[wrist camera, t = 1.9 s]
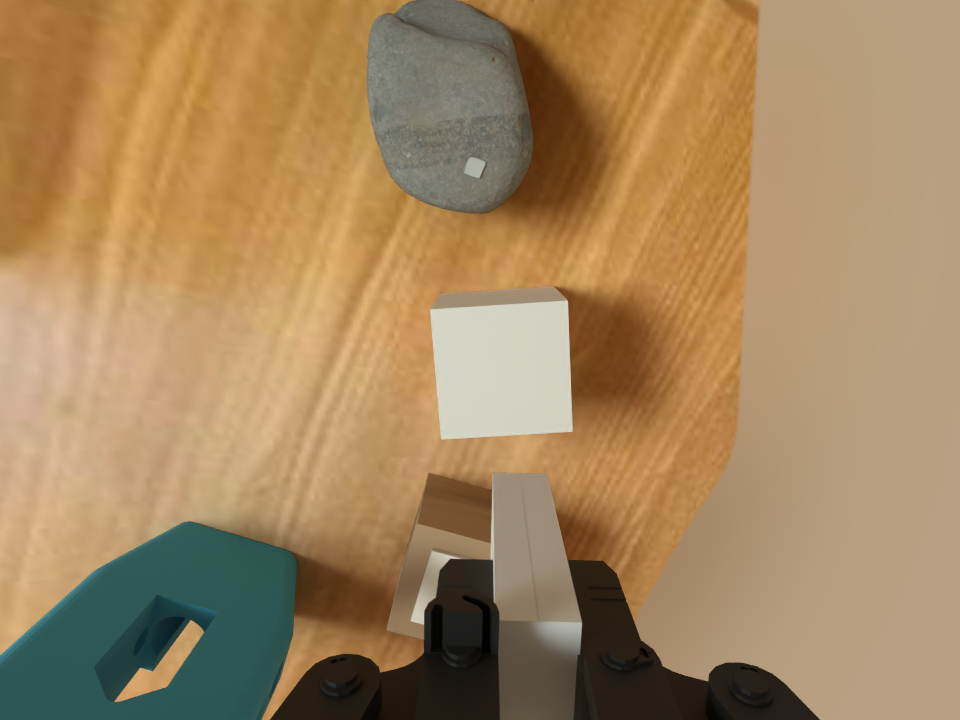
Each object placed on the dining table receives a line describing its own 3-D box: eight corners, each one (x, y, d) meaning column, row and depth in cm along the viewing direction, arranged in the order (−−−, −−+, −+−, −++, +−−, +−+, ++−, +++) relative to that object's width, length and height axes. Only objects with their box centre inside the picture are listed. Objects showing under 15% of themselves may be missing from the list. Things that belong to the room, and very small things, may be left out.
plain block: (440, 293, 38) (430, 309, 32) (553, 285, 38) (567, 300, 31) (449, 401, 40) (441, 439, 33) (557, 395, 40) (572, 431, 33)
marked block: (428, 472, 41) (416, 526, 34) (529, 500, 42) (538, 559, 34) (401, 564, 43) (385, 633, 36) (499, 590, 43) (502, 664, 36)
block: (325, 561, 43) (188, 852, 23) (306, 622, 44) (161, 949, 24) (152, 510, 42) (-139, 766, 22) (138, 573, 43) (-152, 870, 23)
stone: (549, 9, 35) (551, 59, 27) (524, 162, 41) (521, 239, 33) (388, -13, 35) (345, 31, 27) (387, 144, 40) (351, 216, 33)
